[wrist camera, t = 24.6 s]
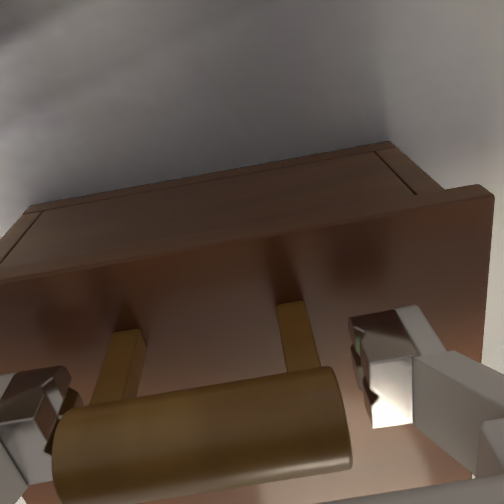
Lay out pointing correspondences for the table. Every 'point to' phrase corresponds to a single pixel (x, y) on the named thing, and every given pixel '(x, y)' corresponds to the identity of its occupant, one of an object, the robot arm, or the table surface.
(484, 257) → the lid
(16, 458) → the robot arm
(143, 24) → the table surface
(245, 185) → the chest
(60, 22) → the table surface
